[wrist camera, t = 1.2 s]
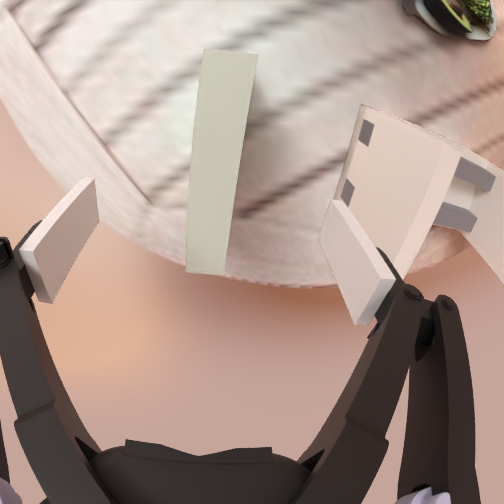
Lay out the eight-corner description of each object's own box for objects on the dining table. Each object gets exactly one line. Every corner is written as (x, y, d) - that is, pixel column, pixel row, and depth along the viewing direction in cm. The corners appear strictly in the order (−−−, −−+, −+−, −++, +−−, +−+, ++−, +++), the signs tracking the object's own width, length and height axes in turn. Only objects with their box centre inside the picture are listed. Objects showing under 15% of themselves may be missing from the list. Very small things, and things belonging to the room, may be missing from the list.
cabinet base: (332, 201, 33) (382, 282, 21) (360, 104, 25) (444, 144, 14) (459, 226, 36) (510, 285, 25) (488, 160, 29) (552, 210, 18)
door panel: (213, 56, 22) (202, 48, 12) (247, 59, 22) (260, 55, 13) (196, 200, 31) (184, 272, 22) (225, 203, 32) (225, 275, 22)
